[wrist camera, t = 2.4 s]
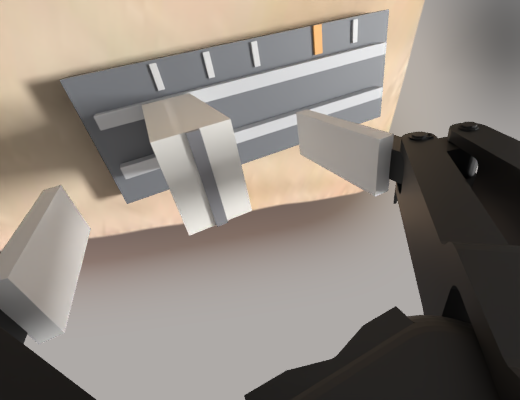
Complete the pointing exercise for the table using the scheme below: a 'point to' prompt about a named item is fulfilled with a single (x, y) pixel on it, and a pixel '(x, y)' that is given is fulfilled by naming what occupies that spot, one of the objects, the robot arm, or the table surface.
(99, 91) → the slider board
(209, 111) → the fader knob
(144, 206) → the table surface
